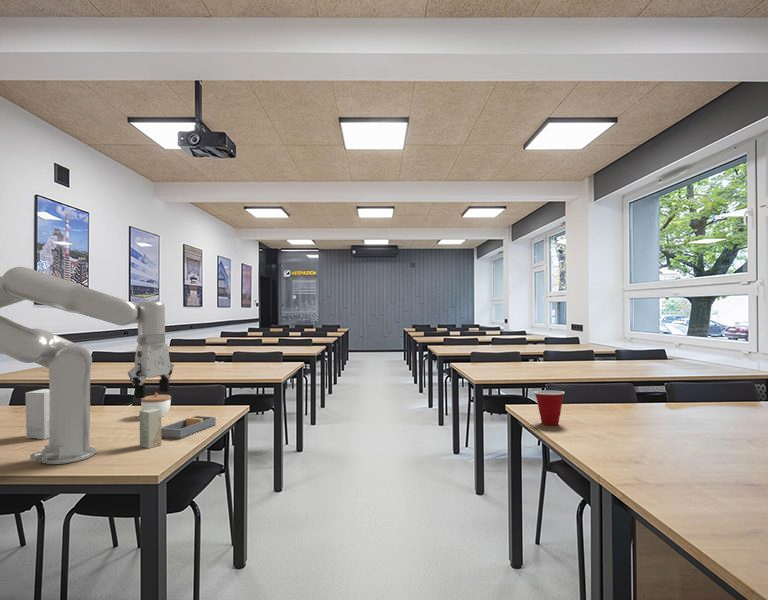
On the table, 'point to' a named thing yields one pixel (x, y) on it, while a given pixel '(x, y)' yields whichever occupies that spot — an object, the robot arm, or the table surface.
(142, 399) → the lidded jar
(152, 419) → the box
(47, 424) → the skincare box
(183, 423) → the gray tray
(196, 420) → the block
